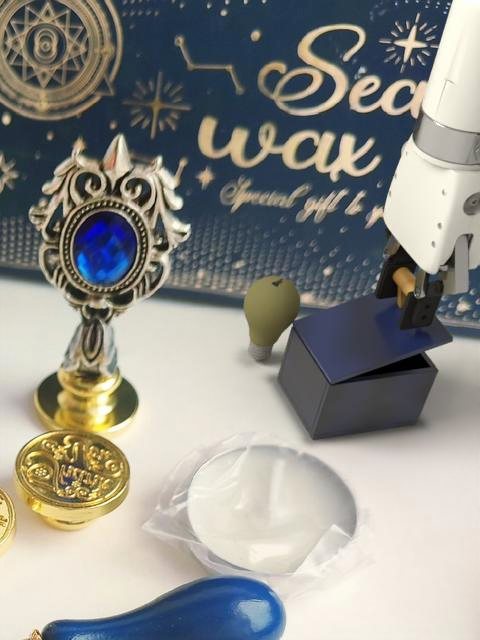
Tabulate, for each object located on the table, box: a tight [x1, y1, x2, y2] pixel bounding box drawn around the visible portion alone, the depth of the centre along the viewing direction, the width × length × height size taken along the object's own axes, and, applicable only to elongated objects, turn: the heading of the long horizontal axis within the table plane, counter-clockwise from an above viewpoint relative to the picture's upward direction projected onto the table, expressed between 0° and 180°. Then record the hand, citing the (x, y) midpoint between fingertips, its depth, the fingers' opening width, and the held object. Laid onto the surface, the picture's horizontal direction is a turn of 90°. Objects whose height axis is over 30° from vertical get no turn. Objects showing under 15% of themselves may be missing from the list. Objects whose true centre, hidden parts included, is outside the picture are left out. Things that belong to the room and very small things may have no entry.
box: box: [276, 325, 440, 440], centre depth 108 cm, size 11×9×7 cm
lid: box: [291, 267, 454, 384], centre depth 102 cm, size 12×9×5 cm
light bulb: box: [243, 275, 301, 362], centre depth 112 cm, size 6×6×10 cm
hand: (402, 309), depth 103 cm, fingers closed on lid, 4 cm apart
